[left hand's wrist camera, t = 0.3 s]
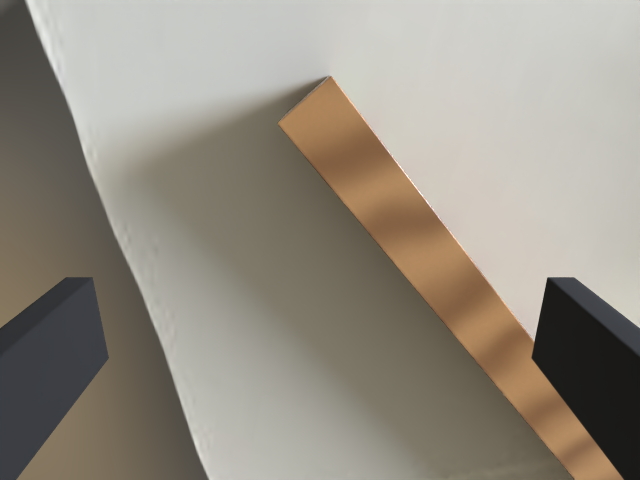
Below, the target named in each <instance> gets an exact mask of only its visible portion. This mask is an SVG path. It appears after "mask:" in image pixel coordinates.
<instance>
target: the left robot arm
mask: <svg viewBox="0 0 640 480" xmlns="http://www.w3.org/2000/svg"><path fill="white" fill-rule="evenodd" d="M108 358H109V357H108V352H107V347H106V342H105V337H104V332H103V327H102V322H101V317H100V312H99V307H98V303H97V297H96V292H95V287H94V283H93V278H92V277H88V278H87V277H67V278H65V279H63V280H62V281H61V282H59V283H58V284H57V285H56V286H54V287H53V288H52V289H50V290H49V291H48V292H47V293H45V294H44V295H43V296H41V297H40V298H39V299H38V300H36V301H35V302H34V303H32V304H31V305H30V306H29V307H27V308H26V309H25V310H23V311H22V312H21V313H19V314H18V315H17V316H16V317H14V318H13V319H12V320H10V321H9V322H8V323H7V324H5V325H4V326H3V327H1V328H0V480H16V479H17V478H18V477H19V475H20V474H21V473H22V471H23V470H24V469H25V467H26V466H27V465H28V463H29V462H30V461H31V460H32V458H33V457H34V456H35V454H36V453H37V452H38V450H39V449H40V448H41V446H42V445H43V444H44V442H45V441H46V440H47V438H48V437H49V436H50V435H51V433H52V432H53V431H54V429H55V428H56V427H57V425H58V424H59V423H60V421H61V420H62V419H63V417H64V416H65V415H66V414H67V412H68V411H69V410H70V408H71V407H72V406H73V404H74V403H75V402H76V400H77V399H78V398H79V396H80V395H81V394H82V392H83V391H84V390H85V389H86V387H87V386H88V385H89V383H90V382H91V381H92V379H93V378H94V377H95V375H96V374H97V373H98V371H99V370H100V369H101V368H102V366H103V365H104V364H105V362H106V361H107V360H108ZM531 358H532V360H533V361H534V362H535V364H536V365H537V366H538V368H539V369H540V370H541V371H542V373H543V374H544V375H545V377H546V378H547V379H548V381H549V382H550V383H551V385H552V386H553V387H554V389H555V390H556V391H557V392H558V394H559V395H560V396H561V398H562V399H563V400H564V402H565V403H566V404H567V406H568V407H569V408H570V410H571V411H572V412H573V414H574V415H575V416H576V417H577V419H578V420H579V421H580V423H581V424H582V425H583V427H584V428H585V429H586V431H587V432H588V433H589V435H590V436H591V437H592V438H593V440H594V441H595V442H596V444H597V445H598V446H599V448H600V449H601V450H602V452H603V453H604V454H605V456H606V457H607V458H608V460H609V461H610V462H611V463H612V465H613V466H614V467H615V469H616V470H617V471H618V473H619V474H620V475H621V477H622V478H623V479H624V480H640V328H639V327H637V326H636V325H635V324H633V323H632V322H631V321H630V320H628V319H627V318H626V317H624V316H623V315H622V314H621V313H619V312H618V311H617V310H615V309H614V308H613V307H611V306H610V305H609V304H608V303H606V302H605V301H604V300H602V299H601V298H600V297H599V296H597V295H596V294H595V293H593V292H592V291H591V290H590V289H588V288H587V287H586V286H584V285H583V284H582V283H581V282H579V281H578V280H577V279H575V278H574V277H548V278H547V283H546V287H545V292H544V297H543V302H542V307H541V312H540V317H539V322H538V327H537V332H536V337H535V342H534V347H533V352H532V357H531Z"/></svg>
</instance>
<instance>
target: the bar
mask: <svg viewBox="0 0 640 480" xmlns="http://www.w3.org/2000/svg"><path fill="white" fill-rule="evenodd" d="M278 125H279V126H280V127H281V129H282V130H283V131H284V132H285V133H286V135H287V136H288V137H289V138H290V139H291V141H292V142H293V143H294V144H295V145H296V147H297V148H298V149H299V150H300V151H301V153H302V154H303V155H304V156H305V157H306V159H307V160H308V161H309V162H310V163H311V165H312V166H313V167H314V168H315V169H316V171H317V172H318V173H319V174H320V175H321V177H322V178H323V179H324V180H325V181H326V183H327V184H328V185H329V186H330V187H331V189H332V190H333V191H334V192H335V193H336V194H337V196H338V197H339V198H340V199H341V200H342V202H343V203H344V204H345V205H346V206H347V208H348V209H349V210H350V211H351V212H352V214H353V215H354V216H355V217H356V218H357V220H358V221H359V222H360V223H361V224H362V226H363V227H364V228H365V229H366V230H367V232H368V233H369V234H370V235H371V236H372V238H373V239H374V240H375V241H376V242H377V244H378V245H379V246H380V247H381V248H382V250H383V251H384V252H385V253H386V254H387V256H388V257H389V258H390V259H391V260H392V262H393V263H394V264H395V265H396V266H397V267H398V269H399V270H400V271H401V272H402V273H403V275H404V276H405V277H406V278H407V279H408V281H409V282H410V283H411V284H412V285H413V287H414V288H415V289H416V290H417V291H418V293H419V294H420V295H421V296H422V297H423V299H424V300H425V301H426V302H427V303H428V305H429V306H430V307H431V308H432V309H433V311H434V312H435V313H436V314H437V315H438V317H439V318H440V319H441V320H442V321H443V323H444V324H445V325H446V326H447V327H448V329H449V330H450V331H451V332H452V333H453V334H454V336H455V337H456V338H457V339H458V340H459V342H460V343H461V344H462V345H463V346H464V348H465V349H466V350H467V351H468V352H469V354H470V355H471V356H472V357H473V358H474V360H475V361H476V362H477V363H478V364H479V366H480V367H481V368H482V369H483V370H484V372H485V373H486V374H487V375H488V376H489V378H490V379H491V380H492V381H493V382H494V384H495V385H496V386H497V387H498V388H499V390H500V391H501V392H502V393H503V394H504V396H505V397H506V398H507V399H508V400H509V402H510V403H511V404H512V405H513V406H514V407H515V409H516V410H517V411H518V412H519V413H520V415H521V416H522V417H523V418H524V419H525V421H526V422H527V423H528V424H529V425H530V427H531V428H532V429H533V430H534V431H535V433H536V434H537V435H538V436H539V437H540V439H541V440H542V441H543V442H544V443H545V445H546V446H547V447H548V448H549V449H550V451H551V452H552V453H553V454H554V455H555V457H556V458H557V459H558V460H559V461H560V463H561V464H562V465H563V466H564V467H565V469H566V470H567V471H568V472H569V473H570V475H571V476H572V477H573V478H574V479H575V480H624V479H623V478H622V477H621V475H620V474H619V473H618V471H617V470H616V469H615V467H614V466H613V465H612V463H611V462H610V461H609V460H608V458H607V457H606V456H605V454H604V453H603V452H602V450H601V449H600V448H599V446H598V445H597V444H596V442H595V441H594V440H593V438H592V437H591V436H590V435H589V433H588V432H587V431H586V429H585V428H584V427H583V425H582V424H581V423H580V421H579V420H578V419H577V417H576V416H575V415H574V414H573V412H572V411H571V410H570V408H569V407H568V406H567V404H566V403H565V402H564V400H563V399H562V398H561V396H560V395H559V394H558V392H557V391H556V390H555V389H554V387H553V386H552V385H551V383H550V382H549V381H548V379H547V378H546V377H545V375H544V374H543V373H542V371H541V370H540V369H539V368H538V366H537V365H536V364H535V362H534V361H533V360H532V358H531V357H532V352H533V347H534V341H533V340H532V338H531V337H530V336H529V334H528V333H527V332H526V330H525V329H524V328H523V326H522V325H521V324H520V323H519V321H518V320H517V319H516V317H515V316H514V315H513V313H512V312H511V311H510V309H509V308H508V307H507V305H506V304H505V303H504V302H503V300H502V299H501V298H500V296H499V295H498V294H497V292H496V291H495V290H494V288H493V287H492V286H491V285H490V283H489V282H488V281H487V279H486V278H485V277H484V275H483V274H482V273H481V271H480V270H479V269H478V267H477V266H476V265H475V264H474V262H473V261H472V260H471V258H470V257H469V256H468V254H467V253H466V252H465V250H464V249H463V248H462V246H461V245H460V244H459V243H458V241H457V240H456V239H455V237H454V236H453V235H452V233H451V232H450V231H449V229H448V228H447V227H446V226H445V224H444V223H443V222H442V220H441V219H440V218H439V216H438V215H437V214H436V212H435V211H434V210H433V208H432V207H431V206H430V205H429V203H428V202H427V201H426V199H425V198H424V197H423V195H422V194H421V193H420V191H419V190H418V189H417V187H416V186H415V185H414V184H413V182H412V181H411V180H410V178H409V177H408V176H407V174H406V173H405V172H404V170H403V169H402V168H401V167H400V165H399V164H398V163H397V161H396V160H395V159H394V157H393V156H392V155H391V153H390V152H389V151H388V149H387V148H386V147H385V146H384V144H383V143H382V142H381V140H380V139H379V138H378V136H377V135H376V134H375V132H374V131H373V130H372V128H371V127H370V126H369V125H368V123H367V122H366V121H365V119H364V118H363V117H362V115H361V114H360V113H359V111H358V110H357V109H356V108H355V106H354V105H353V104H352V102H351V101H350V100H349V98H348V97H347V96H346V94H345V93H344V92H343V90H342V89H341V88H340V87H339V85H338V84H337V83H336V81H335V80H334V79H333V77H332V76H328V77H327V78H326V79H324V80H323V81H322V82H321V83H320V84H319V85H318V86H316V87H315V88H314V89H313V90H312V91H311V92H310V93H308V94H307V95H306V96H305V97H304V98H303V99H302V100H300V101H299V102H298V103H297V104H296V105H295V106H294V107H293V108H291V109H290V110H289V111H288V112H287V113H286V114H285V115H284V116H283V117H282V119H281V120H280V121H279V122H278Z"/></svg>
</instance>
